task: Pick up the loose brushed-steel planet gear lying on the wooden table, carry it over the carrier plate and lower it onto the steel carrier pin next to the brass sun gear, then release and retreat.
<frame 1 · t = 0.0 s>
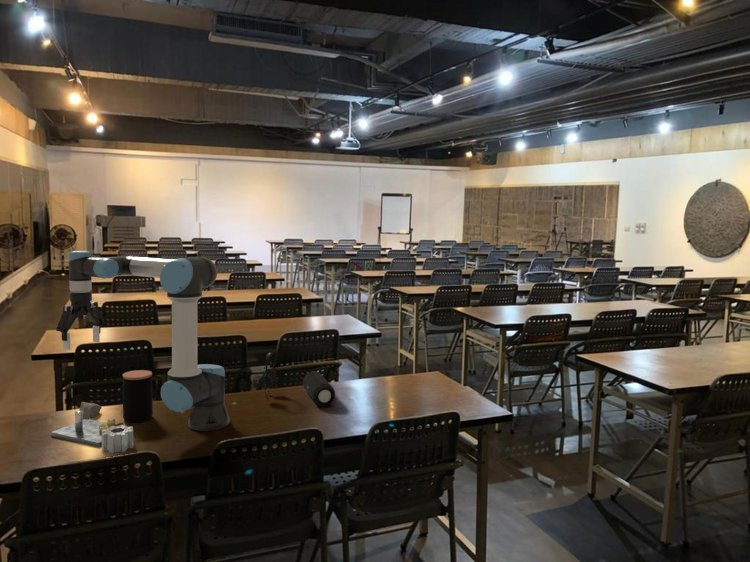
hand: (82, 345, 216), 28 cm above the table, fingers open, 13 cm apart
coffee jar: (138, 419, 218), on the table
carrier: (92, 434, 201), on the table
planet gear: (117, 447, 190), on the table
stone: (88, 416, 219), on the table
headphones: (273, 397, 249), on the table
portable speaker: (318, 399, 249), on the table
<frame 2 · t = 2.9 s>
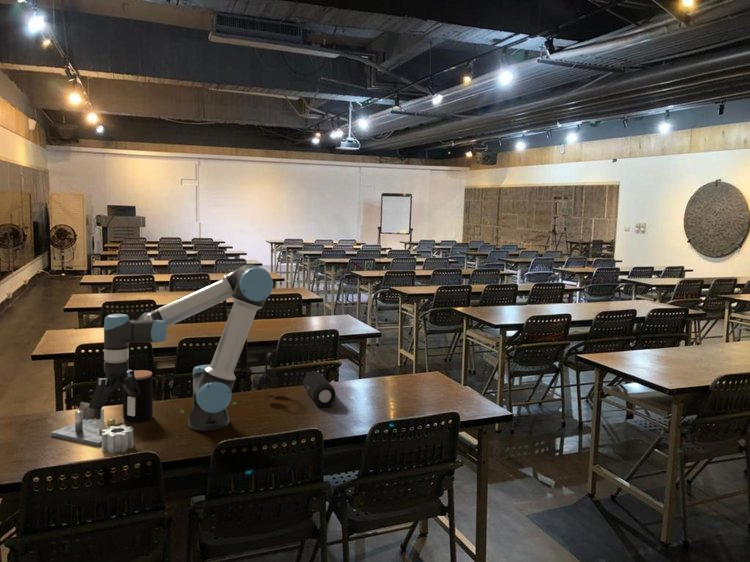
hand: (116, 421, 189), 9 cm above the table, fingers open, 13 cm apart
nothing on the table moved.
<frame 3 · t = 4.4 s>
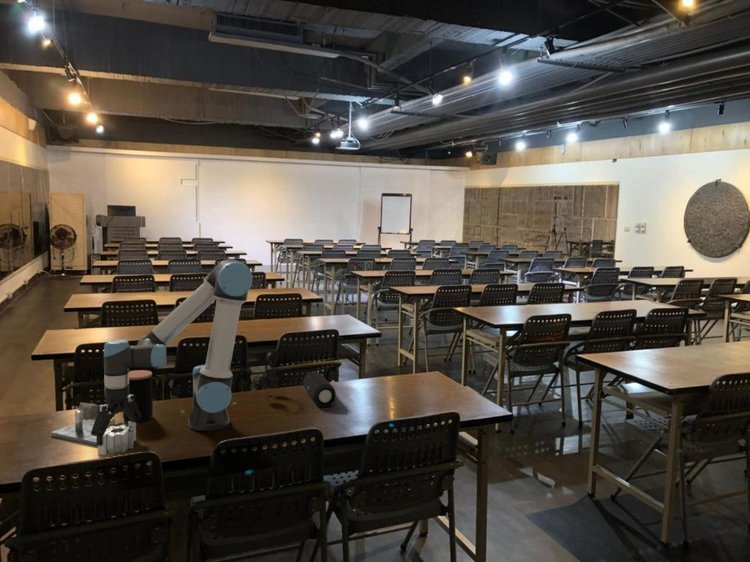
hand: (117, 446, 190), 0 cm above the table, fingers open, 12 cm apart
nothing on the table moved.
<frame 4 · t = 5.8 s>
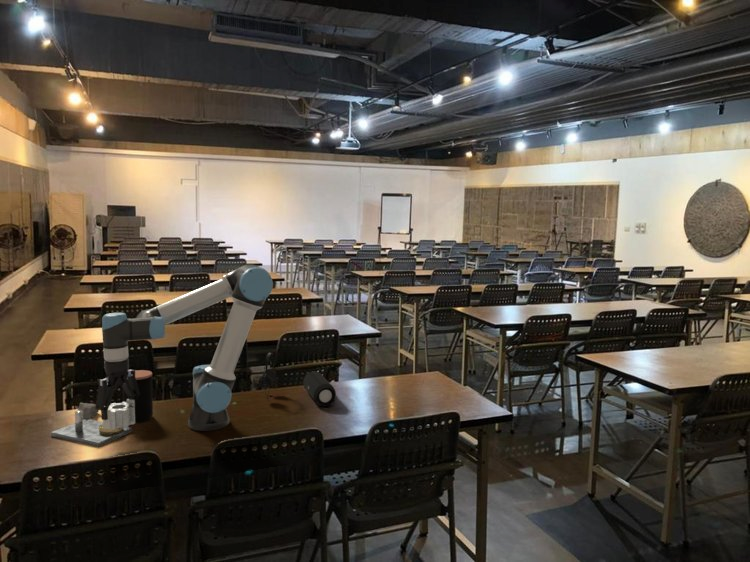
hand: (119, 422, 190), 9 cm above the table, fingers closed on planet gear, 10 cm apart
planet gear: (119, 423, 190), point 8 cm above the table, touching gripper
everything else where it was.
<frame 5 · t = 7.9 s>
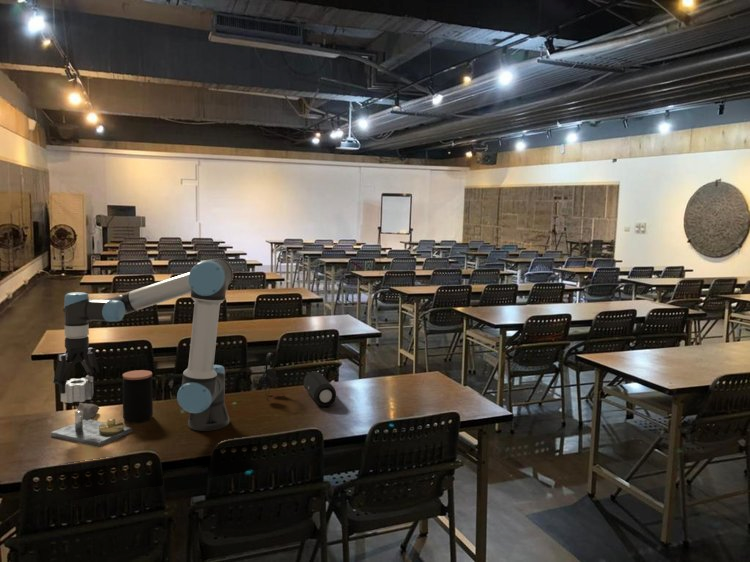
hand: (77, 397, 199), 14 cm above the table, fingers closed on planet gear, 10 cm apart
planet gear: (77, 398, 199), point 13 cm above the table, touching gripper
everything else where it was.
when the fingers open (4 cm above the table, at t = 10.2 s): planet gear drops 2 cm, resting on carrier.
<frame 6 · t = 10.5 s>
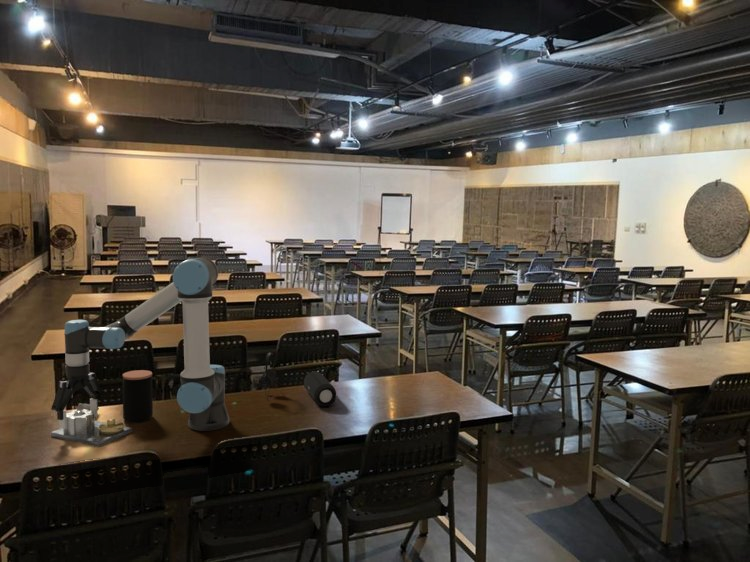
hand: (78, 422, 200), 5 cm above the table, fingers open, 12 cm apart
planet gear: (79, 430, 200), point 1 cm above the table, touching carrier
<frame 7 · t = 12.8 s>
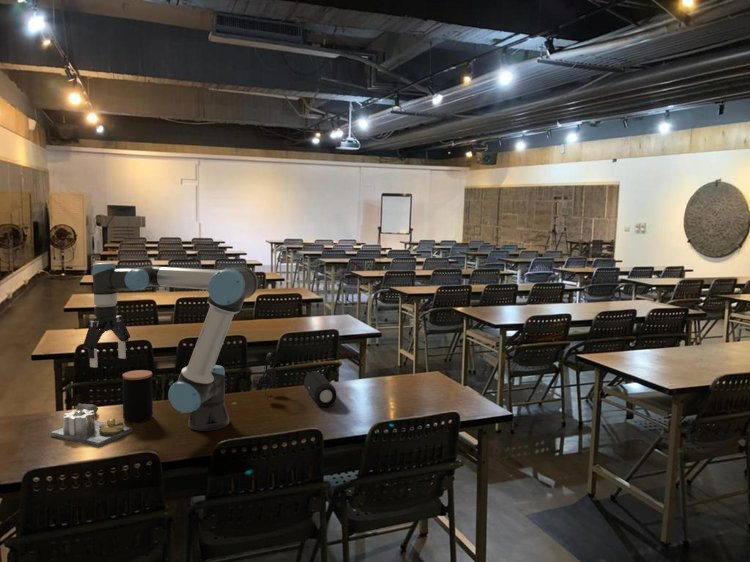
hand: (108, 362, 204), 25 cm above the table, fingers open, 13 cm apart
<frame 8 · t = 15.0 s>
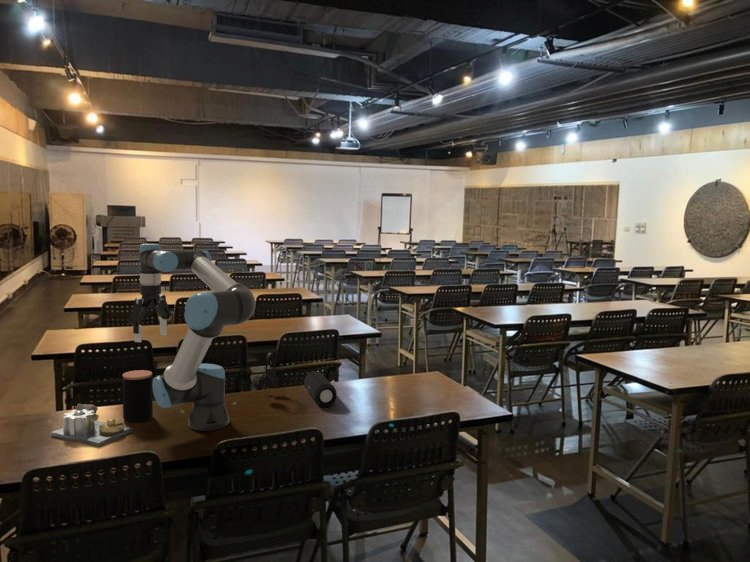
hand: (151, 338, 216), 32 cm above the table, fingers open, 13 cm apart
at the end: planet gear 0.1 cm from the target spot on the carrier, point 1.5 cm above the carrier's base; the gripper is holding nothing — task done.
